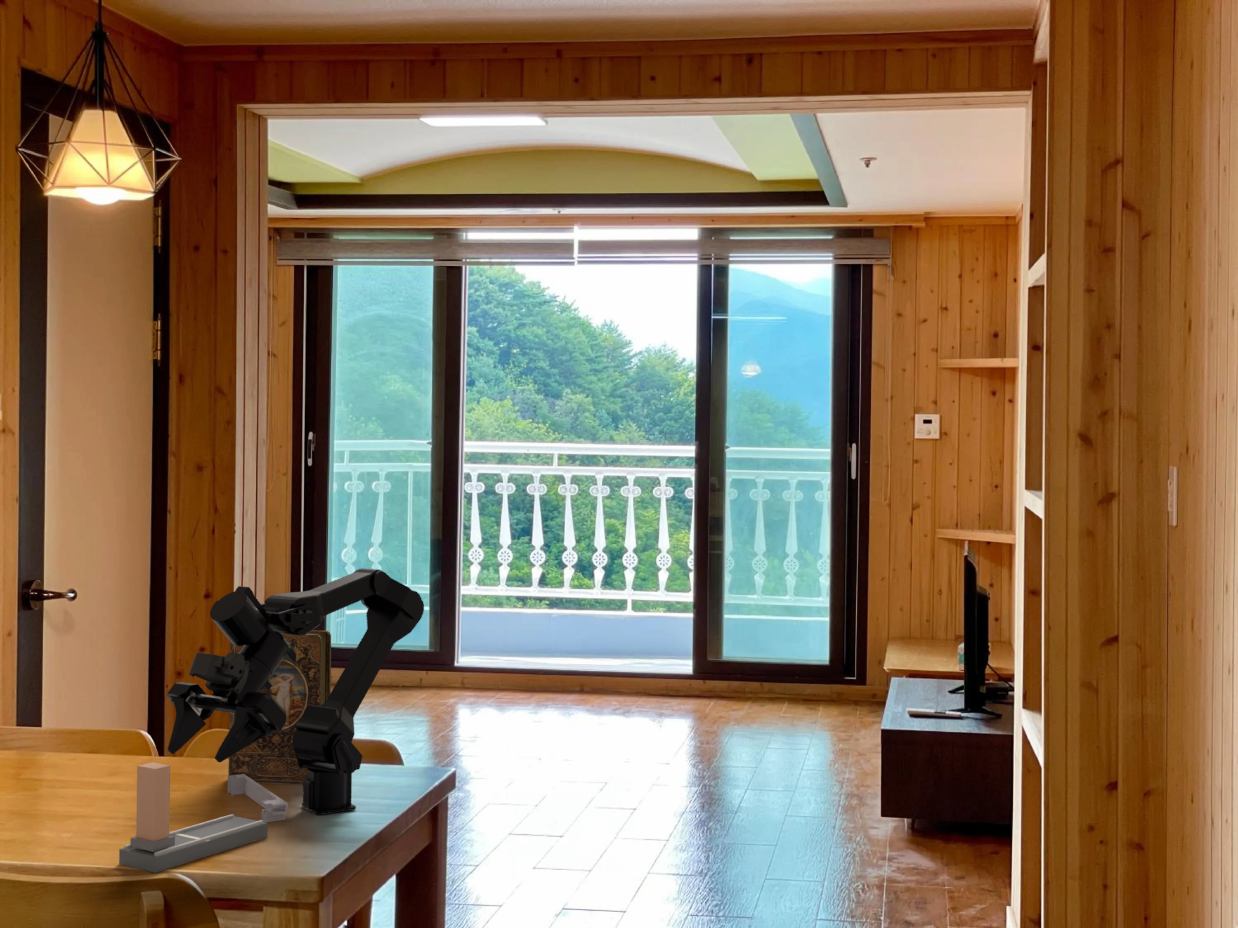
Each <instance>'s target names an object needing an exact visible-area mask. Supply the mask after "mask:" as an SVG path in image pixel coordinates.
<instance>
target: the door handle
mask: <svg viewBox="0 0 1238 928" xmlns="http://www.w3.org/2000/svg"><path fill="white" fill-rule="evenodd" d="M227 794H230V795H231V796H237V795H238V796H239V795H246V796H247V797H249V798H250V799H251V800H252V801H254V802H255V803H257V804H258V805H259V806H261V807H263V808H264V809H261V820H263V822H265V823H272V822H278V821H285V820H286V814H288V810H289V806H288V805H289V803H288V802H287V801H285V800H283V799H282V798H281V797H279V796H277V795H276V794H274V793H273V792H272V791H270V790H269V789H267V788H266V787H264V786H263V785H261V783H257V782H255V781H254V780H252V779H251V778H249V777H248V776H246V775H245V774H240V775H231V776H228V775H227Z"/></svg>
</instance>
